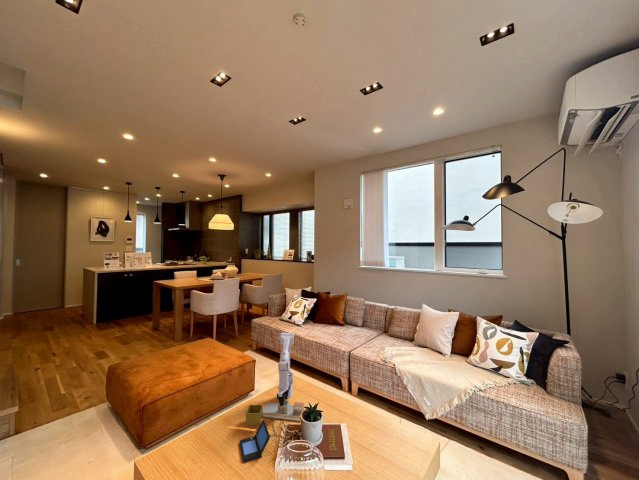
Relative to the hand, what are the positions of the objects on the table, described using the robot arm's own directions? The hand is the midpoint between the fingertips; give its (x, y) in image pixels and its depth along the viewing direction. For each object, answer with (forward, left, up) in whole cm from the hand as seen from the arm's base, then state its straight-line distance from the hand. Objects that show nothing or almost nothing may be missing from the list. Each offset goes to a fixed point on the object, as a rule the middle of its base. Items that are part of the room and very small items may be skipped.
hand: (283, 402), depth 168 cm
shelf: (0, +1, -7) cm, 7 cm away
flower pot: (+13, -14, -7) cm, 21 cm away
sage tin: (0, 0, -6) cm, 6 cm away
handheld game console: (+31, -6, -8) cm, 33 cm away
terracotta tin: (+1, +10, -6) cm, 12 cm away
